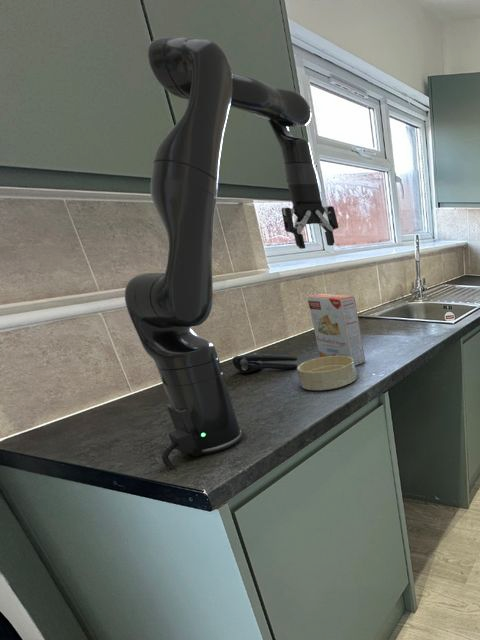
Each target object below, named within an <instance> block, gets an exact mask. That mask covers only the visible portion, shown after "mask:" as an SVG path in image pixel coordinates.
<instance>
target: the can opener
mask: <svg viewBox="0 0 480 640" xmlns="http://www.w3.org/2000/svg"><path fill="white" fill-rule="evenodd" d="M297 360H298V357H297V356H293V355H285V354H258V353H257V352H254V353H253V354H241V355H235V356H233V358H232V365H233V366H234V368H235V369H236V370H238V371H239V372H240V373H243V374H250V373H253V372H256V371H258V370H262V369H272V370H295V369H297V367H298V364H296V363H285V362H295V361H297ZM281 362H284V363H281Z"/></svg>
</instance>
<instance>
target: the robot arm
mask: <svg viewBox="0 0 480 640" xmlns="http://www.w3.org/2000/svg"><path fill="white" fill-rule="evenodd" d="M147 61H148V64H149V67H150V70H151V72H152V74H153V76H154V78H155V79H156V81H157V82H158V83H159V85H161V86H162V88H164V89H165V91H167V92H168V93H169V94H171V95H172V96H175V97H176V98H179V99H182V100H187V103H186V104H187V105H186V107H185V110H184V112H183V114H182V115H181V117H180V118H179V119H178V121H177V122H176V123H175V124H174V126H173V127H172V128H171V129H170V131H169V132H168V133H167V134H166V135H165V137H163V139H162V140H161V142H160V143H159V145H158V146H157V148H156V150H155V152H154V154H153V158H152V166H151V175H150V185H149V187H150V189H149V190H150V197H151V201H152V204H153V206H154V208H155V210H156V212H157V215H158V217H159V219H160V220H161V223H162V225H163V227H164V229H165V232H166V235H167V241H168V251H167V252H168V253H167V263H166V268H165V272H154V273H152V272H151V273H149V272H148V273H141V274H137V275H136V276H134V277H132V278H131V279H129V281H128V282H127V284H126V286H125V289H124V302H125V307H126V310H127V313H128V316H129V318H130V320H131V323H132V325H133V327H134V329H135V332H136V334H137V336H138V338H139V341H140V343H141V346H142V347H143V350H144V351H145V352H146V353H147V355H148V356H149V357H150V358H152V360H153V361H154V363H155V366H156V369H157V371H158V374H159V376H160V379H161V382H162V385H163V388H164V390H165V393H166V397H167V399H168V402H169V404H167V405H166V407H167V410H168V413H169V416H170V418H171V421H172V425H173V427H174V429H175V430H174V431H172V432H168V436H169V440H170V442H171V444H170V445H169V446H168V447H167V448H166V449H165V450H164V451H163V453H162V456H161V460H162V462H163V464H164V465H165V467H166V468H170V467H172V466H173V467H174V465H173V464H172V462H171V461H170V458H169V456H170V454H171V452H172V451H174V450H177V451H178V452H180V453H181V454H185V453H187V454H190V455H191V456H193V457H195V458H198V457H201V456H203V455H208V454H213V453H214V454H215V453H217V452H221V451H224V450H226V449H229V448H231V447H233V446H234V445H237V444H238V443H239V442H241V440H242V438H243V433H242V430H241V428H240V425H239V422H238V418H237V414H236V412H235V408H234V405H233V401H232V398H231V395H230V392H229V389H228V384H227V381H226V378H225V376H224V373H223V368H222V365H221V361H220V359H219V356H218V355H219V354H218V351H217V349H216V346H215V345H214V343H213V342H211V341H209V340H207V339H206V338H203V337H202V336H200V335H199V334H197V333H196V332H195V331H194V329H192V328H193V327H198V326H201V325H202V324H203V323H205V321H207V319H208V318H209V316H210V314H211V312H212V307H213V302H214V301H213V297H214V290H213V289H214V287H213V286H214V284H213V283H214V281H213V240H214V227H215V215H216V208H217V202H218V201H217V200H218V191H219V190H218V189H219V176H220V163H221V155H222V147H223V141H224V136H225V135H224V134H225V130H226V126H227V120H228V116H229V113H230V108H234V109H237V110H240V111H243V112H245V113H249V114H251V115H254V116H256V117H258V118H259V117H260V118H262V119H264V120H265V119H266V120H267V122H268V124H269V126H270V128H271V129H272V132H273V134H274V136H275V139H276V141H277V143H278V145H279V147H280V152H281V156H282V160H283V161H282V162H283V165H284V173H285V178H286V184H287V187H288V191H289V195H290V200H291V203H292V208H291V207H282V208H281V215H282V220H283V225H284V231H285V232H287V233H290V234H292V235H293V236H294V240H295V245H296V246H297V247H298V249H300V250H304V249H306V243H305V239H304V235H303V234H302V232H303V230H304V228H305V227H306V225H314V224H315V225H319V226H321V228H322V229H323V230H324V235H325V236H324V237H325V240H326V245H327V246H330V247H331V246H332V247H333V246H334V245H335V237H334V230H337V229H339V223H338V218H337V215H336V210H335V207H334V206H333V205H327V206H324V205H323V203H322V201H323V199H322V195H321V188H320V185H319V179H318V175H317V171H316V167H315V164H314V159H313V155H312V150H311V145H310V143H309V141H308V140H307V139H306V138H303V137H300V136H299V137H298V136H294V135H292V133H291V131H290V129H289V128H295V127H297V128H298V127H304V126H307V125H308V124H309V123H310V121H311V118H312V111H311V107H310V105H309V103H308V101H307V100H306V98H305V97H303V95H301V94H300V93H298V92H296V91H293V90H290V89H285V88H282V87H275V86H272V85H270V84H268V83H266V82H264V81H263V80H260V79H258V78H255V77H252V76H250V75H246V74H242V73H238V72H233V71H232V66H231V63H230V60H229V58H228V56H227V54H226V52H225V51H224V50H223V48H221V46H220V45H219V44H217V42H214V41H213V40H210V39H208V38H204V37H194V36H162V37H157V38H155V39H153V40H152V41H151V42H150V43H149V45H148V48H147ZM324 214H325V215H326V217H327V219H326V217H325V216H324ZM294 215H295V216H296V219H295V222H294V220H293V217H294Z"/></svg>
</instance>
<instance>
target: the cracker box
mask: <svg viewBox="0 0 480 640" xmlns="http://www.w3.org/2000/svg"><path fill="white" fill-rule="evenodd" d="M306 298H307V303H308V308H309V312H310V317H311V322H312V326H313V330H314V335H315V339H316V345H317V350H318V354H319V358H320V357H326V356H348V357H352V358H353V359H354V363H355V367H356V366H359V365H362V364H364V363H366V355H365V350H364V343H363V338H362V333H361V328H360V321H359V316H358V311H357V304H356V298H355V295H343V294H334V293H333V294H332V293H317V294H312V295H308V296H307V297H306Z"/></svg>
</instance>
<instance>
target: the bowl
mask: <svg viewBox="0 0 480 640" xmlns="http://www.w3.org/2000/svg"><path fill="white" fill-rule="evenodd" d="M297 366H298V367H297V368H296V371H297V376H298V379H299V384H300V387H301V388H302V389H304V390H307V391H329V390H330V391H331V390H335V389H339V388H343V387H345V386H347V385H349V384H351V383H353V382H354V381H356V380H357V378H358V375H357V369H356V366H355V363H354V359H353V358H352V357H348V356H326V357H320V356H319V357H315V358H312V359H308V360H306V361H304V362H301V363H300V364H297Z"/></svg>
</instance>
